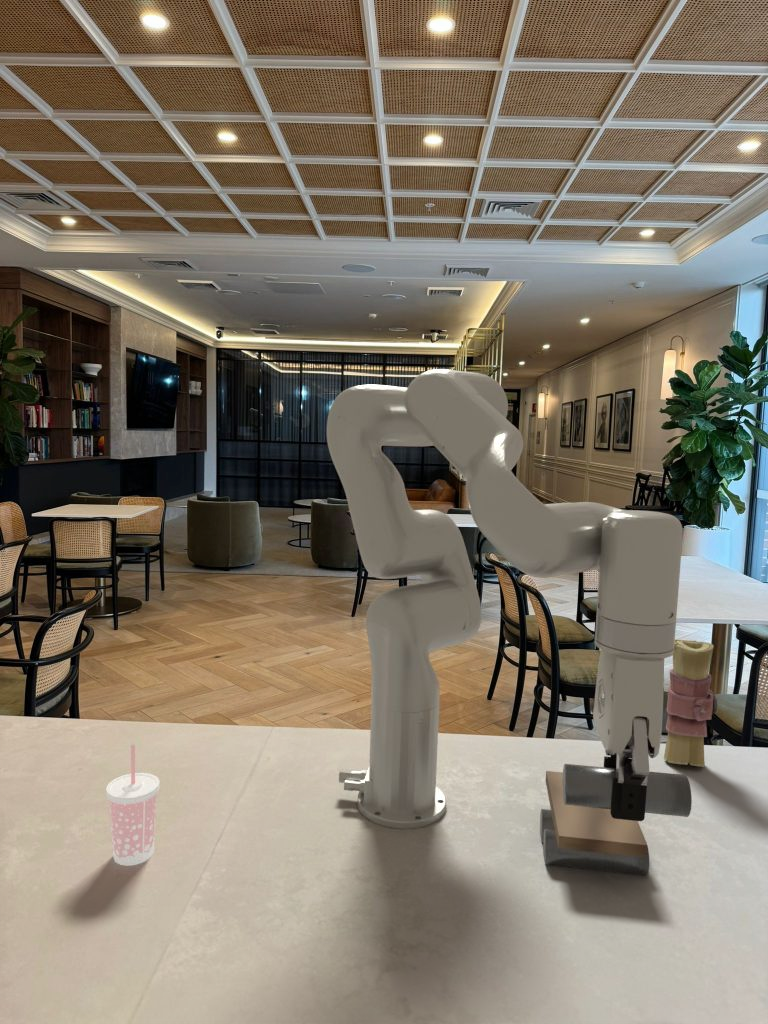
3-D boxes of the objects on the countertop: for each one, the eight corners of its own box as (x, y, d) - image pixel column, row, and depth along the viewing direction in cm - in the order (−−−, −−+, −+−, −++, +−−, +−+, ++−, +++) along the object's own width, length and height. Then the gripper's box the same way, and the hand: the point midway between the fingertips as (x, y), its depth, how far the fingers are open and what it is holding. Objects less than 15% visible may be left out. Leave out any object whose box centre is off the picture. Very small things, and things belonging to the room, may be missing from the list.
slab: (558, 847, 81) (558, 835, 81) (545, 781, 97) (546, 770, 97) (646, 857, 80) (647, 845, 79) (619, 788, 95) (619, 777, 95)
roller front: (544, 871, 85) (547, 850, 83) (542, 843, 88) (545, 821, 86) (645, 883, 83) (651, 861, 81) (639, 853, 87) (644, 832, 85)
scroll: (718, 775, 109) (729, 653, 107) (668, 769, 111) (677, 649, 108) (705, 754, 116) (715, 639, 114) (659, 749, 118) (668, 635, 116)
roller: (565, 812, 70) (568, 776, 70) (561, 791, 74) (563, 756, 73) (689, 825, 69) (693, 788, 68) (678, 802, 72) (681, 767, 72)
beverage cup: (146, 834, 89) (145, 729, 87) (169, 855, 84) (168, 746, 83) (98, 853, 84) (96, 744, 83) (120, 876, 80) (118, 762, 78)
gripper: (583, 611, 78) (574, 765, 80) (611, 656, 62) (598, 849, 64) (652, 615, 77) (641, 771, 79) (699, 663, 61) (683, 858, 62)
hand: (622, 804), depth 71 cm, fingers closed on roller, 4 cm apart
